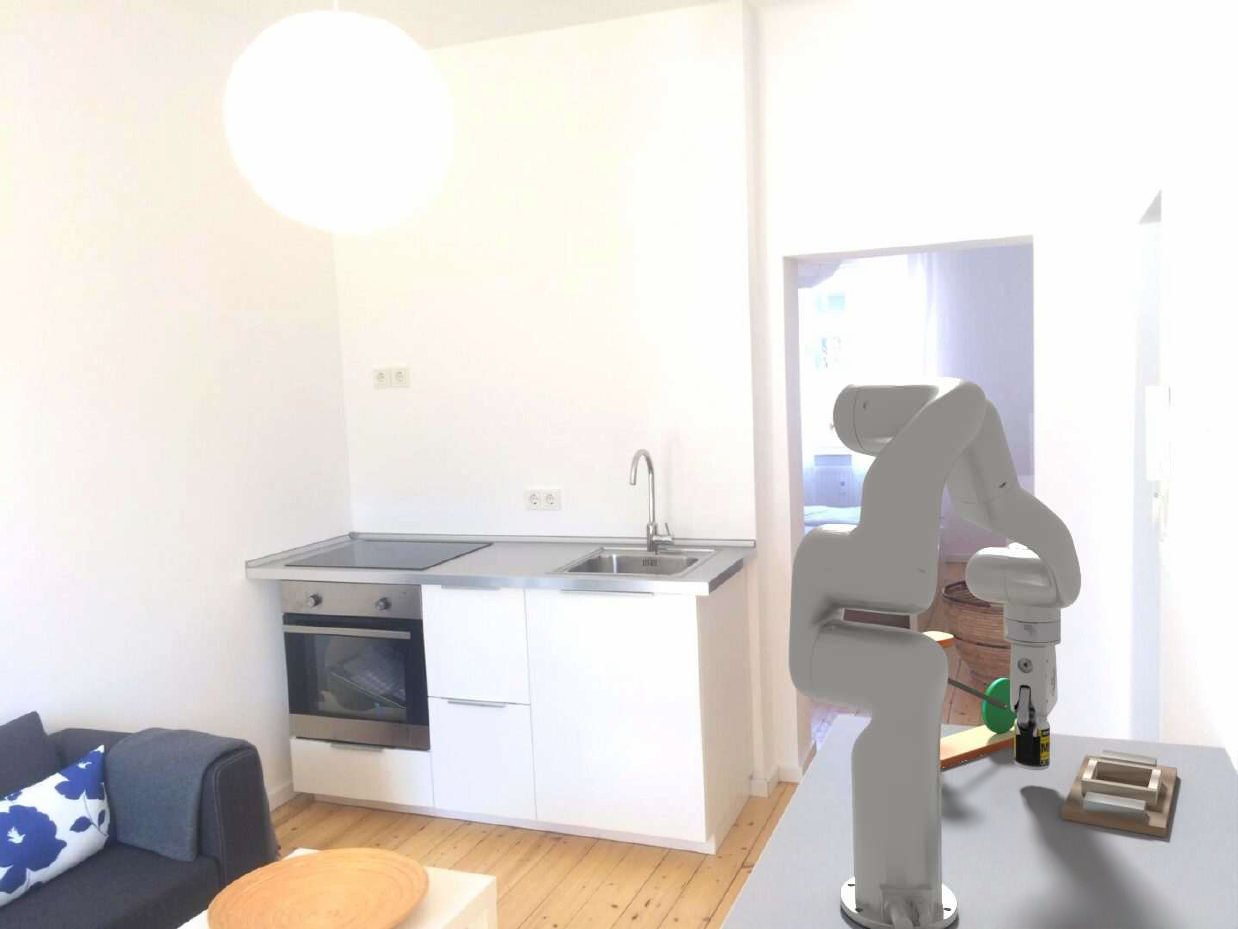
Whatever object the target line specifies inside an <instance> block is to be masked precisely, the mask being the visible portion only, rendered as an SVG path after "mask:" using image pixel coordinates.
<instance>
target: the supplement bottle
mask: <svg viewBox="0 0 1238 929" xmlns="http://www.w3.org/2000/svg"><path fill="white" fill-rule="evenodd" d="M1029 713H1034V714H1035V710H1034V709H1029ZM1048 718H1049V715H1048V716H1047V717H1042V715H1039V730H1038V736H1041V762H1040V764H1039V765H1035V764H1028V763H1022V762H1018V761H1016V725H1017V719H1016V720H1015V722H1014V746H1013V750H1014V751H1013V752H1014V754H1013V757H1014V758H1013V761H1014V765H1016V766H1017V767H1019V768H1020V769H1024V770H1029V771H1044V770H1047V769H1049V767H1050V762H1051V759H1050V758H1051V753H1050V752H1051V726H1050V725H1051V724H1050V722H1049V721H1048ZM1046 719H1047V720H1046ZM1029 721H1032V723H1033V722H1034V718H1029Z"/></svg>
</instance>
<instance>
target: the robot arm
mask: <svg viewBox="0 0 1238 929" xmlns="http://www.w3.org/2000/svg"><path fill="white" fill-rule="evenodd" d="M832 409H833V410H832V420H833V422H832V423H833V427H834V430H835V433H836V436H837V437H838V439H839V440H840V441H841V444H843V445H844V446H845V447H846V448H847V449H849V450H851V451H853V452H854V453H858V454H862V455H866V456H870V457H874V460H873V461H872V463H871V465H870V466H869V468H868V470H867V472H866V474H865V476H864V478H863V481H862V487H861V488H862V490H861V499H860V500H861V502H860V514H859V520H858V524H857V525H856V524H843V523H841V524H840V523H839V524H838V523H828V524H827V523H825V524H820V525H818V526H815V527H813V528H812V529H811V530H809V531H808V532H806V533H805V535H804V537H802V539H801V541H800V543H799V545H798V547H797V549H796V552H795V555H794V559H793V564H792V565H793V566H792V572H791V574H792V575H791V585H790V586H791V587H790V588H791V590H790V609H789V610H790V611H789V634H788V635H789V636H788V667H789V668H788V669H789V675H790V679H791V682H792V684H793V686H794V688H795V690H796V691H797V693H799V694H800V695H801V696H803V697H805V698H807V699H810V700H811V701H816V702H820V703H825V704H829V705H834V706H838V707H843V708H849V709H854V710H857V711H861V712H865V713H868V714H869V715H870V717H871V719H870V721H869V723H868V724H867V726H865V728H864V729H863V730H862V731H861V732H860V733H859V734H858V736H857V737H856V739H855V741H854V743H853V746H852V749H851V755H850V767H851V768H850V769H851V770H850V771H851V798H852V799H851V800H852V801H851V802H852V804H851V805H852V807H851V808H852V844H853V846H852V848H853V849H852V850H853V877H852V878H850V879H849V880H847V881H846V882H845V883H844V884H843V885H842V887H841V889H840V895H839V896H840V905H841V908H842V910H843V911H844V913H845V914H846V915H847V916H848V917H849V918H850V919H852V920H853V921H855V923H858V924H860V925H861V926H863V927H865V928H868V929H946V928H947V927H949V926H950V925H951V924H953V923H954V921H956V919H957V917H958V913H959V912H958V900H957V897H956V896H955V894H954V893H953V892H952V890H950V889H949V888H948V887H947V886H946V885H944V884H943V844H942V843H943V842H942V839H943V838H942V836H943V835H942V792H941V791H942V785H941V782H942V781H941V780H942V779H941V778H942V777H941V769H940V738H942V736H941V733H942V722H943V721H942V720H943V714H944V713H943V712H944V705H945V699H946V693H947V687H948V683H947V682H948V677H949V661H948V660H949V659H948V656H947V654H946V652H945V648H942V647H941V645H940V644H939V643H938V642H937V641H935V640H934V639H933V638H931V637H929V636H928V635H926V634H923V633H924V632H920V631H917V630H914V629H909V628H906V627H898V626H890V625H884V624H876V623H867V622H866V623H864V622H857V621H850V620H844V615H845V610H853V611H858V612H860V611H861V612H866V613H867V612H870V613H878V614H887V615H895V616H898V615H899V616H914V615H919V614H921V613H924V612H926V610H928V609H929V608H930V607H931V605H932V603H933V601H934V599H935V596H936V593H937V586H938V576H939V558H940V557H939V556H940V538H941V537H940V536H941V534H940V532H941V512H942V511H941V510H942V500H943V499H942V498H943V492H944V488H945V486H946V489H947V492H948V495H949V498H950V500H951V503H952V506H953V508H954V511H955V512H956V513H957V514H958V516H960V517H961V518H962V519H963V520H965V521H967V522H969V523H970V524H973V525H974V526H977V527H979V528H981V529H984V530H985V531H988V532H990V533H993V534H995V535H998V536H1000V537H1004V538H1006V539H1008V540H1011V541H1013V543H1009V544H1008V545H1007V546H1002V547H1001V546H1000V547H999V546H998V547H994V546H993V547H991V546H990V547H985V548H981V549H980V550H978V551H976V552H975V553H974V554H973V555H972V556H971V557H970V559H969V560H968V562H967V565H966V568H965V571H964V572H965V573H964V580H965V584H966V586H967V589H968V590H969V592H970V593H971V595H973V596H974V597H975V598H976V599H979V600H982V601H983V602H984V601H985V602H989V603H992V604H995V603H996V604H1003V640H1004V641H1005V642H1007V643H1010V657H1009V660H1010V662H1009V663H1010V664H1009V666H1010V668H1009V679H1010V705H1011V710H1012V711H1013V712H1014V713H1017V725H1016V761H1018V762H1022V763H1028V764H1035V765H1039V764H1040V762H1041V736H1038V730H1039V715H1042V717H1047V716H1048V717H1049V715H1050V714H1051V713H1052V711H1053V710H1054V708H1055V706H1056V705H1057V703H1058V696H1059V695H1058V674H1057V673H1058V670H1057V653H1056V645H1059V644H1061V641H1062V637H1061V636H1062V634H1061V633H1062V632H1061V631H1062V628H1061V627H1062V619H1061V618H1062V609H1066V608H1069V607H1070V606H1072V605H1073V604H1074V603H1075V601H1077V599H1078V598H1079V595H1080V592H1081V587H1082V574H1081V567H1080V561H1079V557H1078V555H1077V554H1078V553H1077V550H1076V546H1075V543H1074V539H1073V537H1072V533H1071V532H1070V530H1069V528H1068V526H1067V525H1066V524H1065V522H1064V521H1063V520H1062V519H1061V518H1060V517H1059V516H1058V515H1057V514H1056V513H1055V512H1054V511H1052V509H1050V508H1049V507H1048V506H1047V505H1046V504H1045V503H1043V502H1042V501H1041V500H1040V499H1038V498H1037V497H1036V496H1035V495H1033V494H1032V493H1030V492H1029V491H1028V490H1025V489H1024V488H1023V487H1022V486H1021V485H1020V482H1019V478H1018V475H1017V474H1018V473H1017V471H1016V467H1015V464H1014V461H1013V457H1012V455H1011V451H1010V446H1009V444H1008V440H1007V438H1006V433H1005V430H1004V427H1003V424H1002V421H1001V420H1002V419H1001V417H1000V414H999V412H998V410H997V408H996V406H995V405H994V404H993V402H991V401H990V400H988V399H987V398H986V395H985V392H984V391H983V388H982V387H981V386H980V385H978V384H977V383H975V382H974V381H971V380H966V379H962V378H956V377H955V378H954V377H914V378H913V377H912V378H911V377H910V378H901V379H899V378H898V379H870V380H859V381H855V382H851V383H850V384H848V385H846V386H845V387H844V388H843V389H842V390H841V391H840V393H839V394H838V395H837V397H836V400H835V402H834V404H833V408H832ZM1029 709H1034V710H1035V714H1034V713H1029ZM1048 717H1047V719H1046V720H1047V721H1048ZM1029 718H1034V722H1033V723H1032V721H1029Z"/></svg>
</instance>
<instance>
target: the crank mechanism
mask: <svg viewBox="0 0 1238 929" xmlns="http://www.w3.org/2000/svg"><path fill="white" fill-rule="evenodd" d="M922 633H923V634H926V635H928V636H929V637H931V638H933V639H934V640H935V641H937V642H938V643H939V644H940V645H941V647H942V648H943V649H946V648H951V647H953V646H954V644H955V643H954V642H955V641H954V638H955V637H954V635H953V634H951V633H946V632H942V631H937V630H935V631H934V630H933V631H923V632H922ZM948 684H949V685H950V686H953V687H956V688H957V689H959V690H961V691H963V692H966V693H968V694H971V695H973V696H974V697H976V698H979V699H981V700H982V702H981V704H982V705H981V716H982V721H983V723H984V724H983V725H980V726H976V727H973V728H970V729H967V730H966V729H965V730H964V731H960V732H957V733H953V734H949V735H947V736H944V737H941V738H940V768H943V767H946V768H949V767H952V766H951V765H953V766H955V765H954V764H956V765H958V764H957V763H959V762H962V761H965V760H968V761H970V759H971V760H973V758H974V759H977V758H980V757H982V756H981V755H983V756H986V755H989V754H992V753H996V752H998V751H1002V750H1004V749H1007V748H1011V747H1014V722H1015V720H1016V719H1017V713H1014V712H1013V711H1012V710H1011V705H1010V678H1007V677H1006V678H1005V677H1000V678H998V679H996V680H994V681H993V682H992V683H991V684H990V685H989V687H988V688H987V690H986V691H985V693H983V692H981V691H978V690H977V689H975V688H974V687H973V688H972V687H971V686H968V685H966V684H964V683H963V682H959V681H957V680H956V679H953V678H952V677H949V676H948V682H947V685H948ZM985 754H986V755H985ZM979 756H980V757H979ZM976 757H977V758H976ZM965 762H966V761H965ZM962 763H963V762H962ZM959 764H960V763H959ZM943 769H944V768H943Z"/></svg>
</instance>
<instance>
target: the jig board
mask: <svg viewBox="0 0 1238 929" xmlns="http://www.w3.org/2000/svg"><path fill="white" fill-rule="evenodd" d="M1177 778H1178V767H1175V766H1174V767H1173V766H1168V765H1167V766H1166V765H1160V764H1158V757H1157V756H1152V755H1146V754H1145V755H1144V754H1138V753H1137V754H1136V753H1131V752H1122V751H1116V750H1107V749H1103V750H1102V752H1101V754H1100V756H1098V755H1092V754H1085V756H1084V758H1083V760H1082V763H1081V765H1080V767H1079V769H1078V772H1077V774H1076V777H1075V779H1074V781H1073V783H1072V785H1071V788H1070V791H1069V793H1068V795H1067V796H1066V800H1065V802H1064V804H1063V807H1062V808H1061V820H1064V821H1071V822H1075V823H1082V824H1087V825H1092V826H1097V827H1102V828H1109V829H1115V830H1120V831H1121V830H1122V831H1126V832H1133V833H1137V834H1138V833H1139V834H1144V835H1148V834H1149V836H1154V837H1155V836H1156V837H1161V838H1165V837H1166V835H1167V834H1166V833H1167V829H1168V824H1169V818H1170V814H1171V808H1172V804H1173V798H1174V794H1175V787H1176V783H1177Z"/></svg>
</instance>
